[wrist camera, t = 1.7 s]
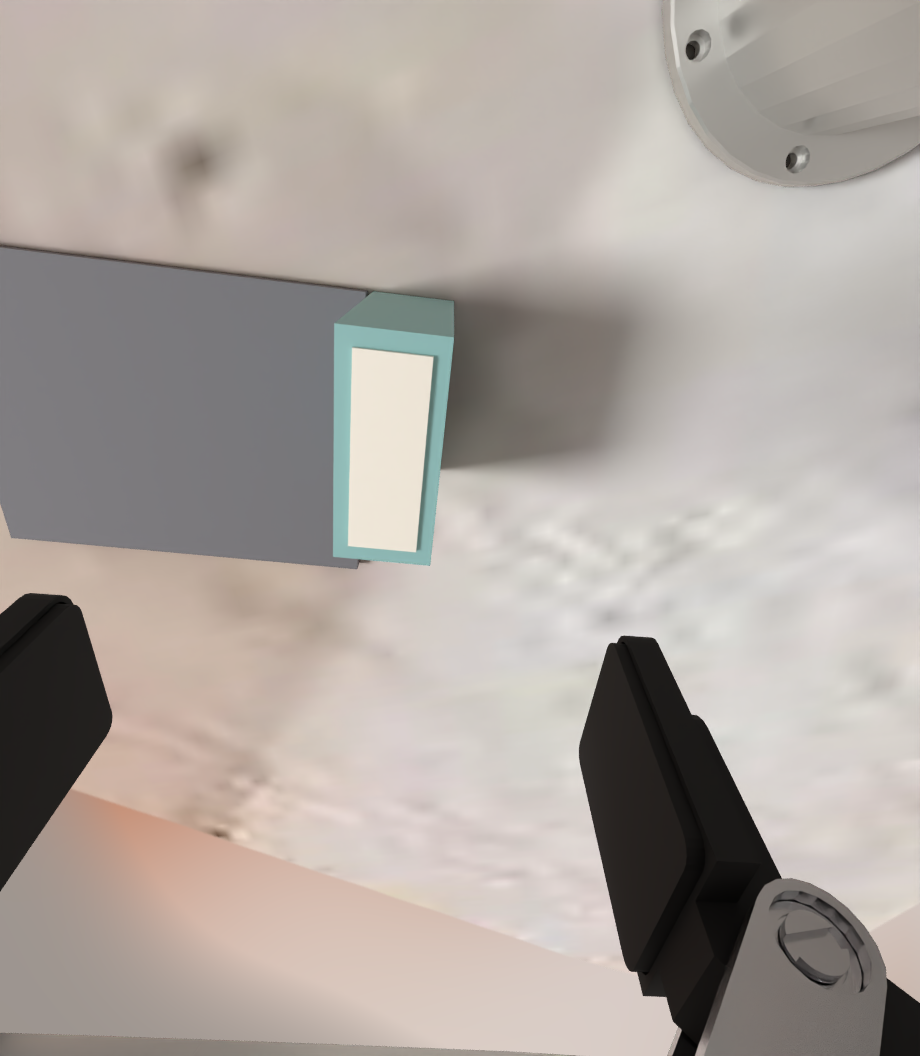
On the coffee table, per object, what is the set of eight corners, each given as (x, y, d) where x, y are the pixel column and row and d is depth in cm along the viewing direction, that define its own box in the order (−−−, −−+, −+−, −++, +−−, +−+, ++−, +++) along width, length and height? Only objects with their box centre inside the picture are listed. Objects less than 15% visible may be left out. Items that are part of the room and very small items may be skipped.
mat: (-72, 236, 23) (-85, 237, 22) (367, 290, 24) (365, 291, 23) (19, 532, 29) (11, 537, 29) (359, 563, 31) (357, 569, 30)
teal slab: (373, 291, 24) (333, 324, 16) (453, 300, 24) (454, 338, 16) (367, 462, 28) (332, 559, 20) (436, 469, 28) (429, 567, 20)
